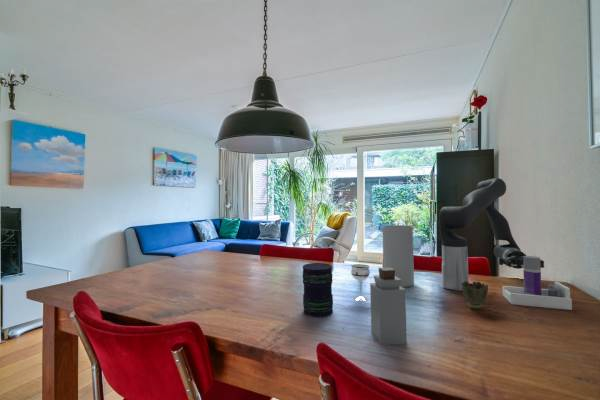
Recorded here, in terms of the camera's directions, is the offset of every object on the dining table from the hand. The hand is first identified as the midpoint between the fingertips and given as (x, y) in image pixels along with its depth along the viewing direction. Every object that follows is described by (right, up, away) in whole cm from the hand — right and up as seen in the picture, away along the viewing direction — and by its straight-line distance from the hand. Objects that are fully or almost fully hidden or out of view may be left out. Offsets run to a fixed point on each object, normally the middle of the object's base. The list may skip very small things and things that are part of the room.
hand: (524, 265), depth 107 cm
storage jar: (-80, -12, -15) cm, 82 cm away
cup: (-28, -11, -14) cm, 33 cm away
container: (-5, -10, -9) cm, 14 cm away
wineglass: (-63, -12, -3) cm, 64 cm away
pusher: (+1, -9, -12) cm, 15 cm away
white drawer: (-4, -10, -10) cm, 15 cm away
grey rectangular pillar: (-42, -12, +16) cm, 47 cm away
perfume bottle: (-62, -11, -33) cm, 72 cm away
